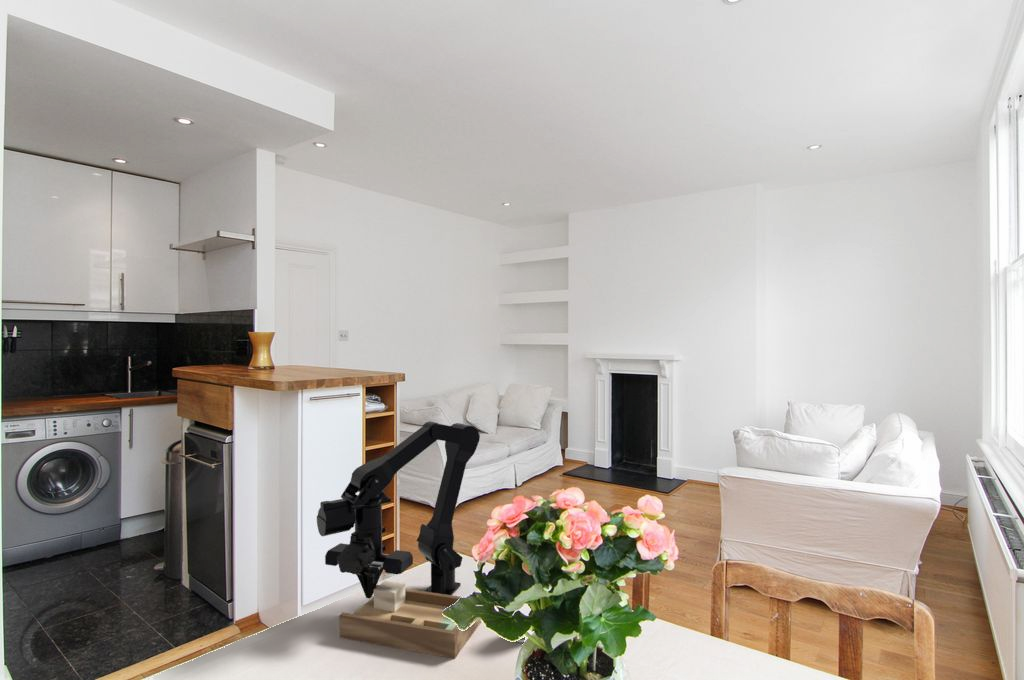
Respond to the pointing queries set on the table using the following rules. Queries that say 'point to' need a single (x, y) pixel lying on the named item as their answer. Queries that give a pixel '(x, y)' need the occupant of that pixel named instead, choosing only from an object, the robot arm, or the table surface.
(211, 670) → the table surface
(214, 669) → the table surface
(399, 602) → the block
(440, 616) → the box
